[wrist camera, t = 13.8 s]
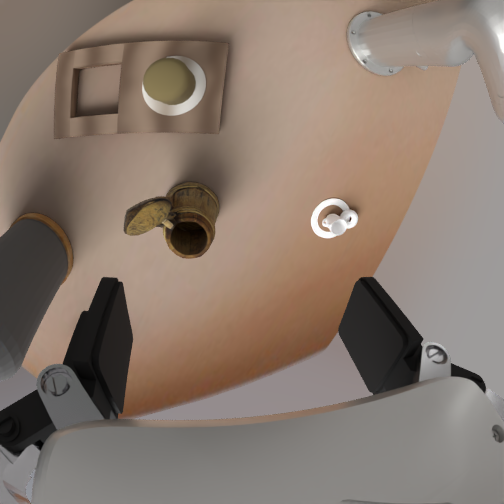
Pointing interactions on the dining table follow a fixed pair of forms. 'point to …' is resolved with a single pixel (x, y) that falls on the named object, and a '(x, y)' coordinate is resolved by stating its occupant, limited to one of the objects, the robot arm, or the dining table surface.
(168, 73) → the cork
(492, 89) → the robot arm
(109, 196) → the dining table surface
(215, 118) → the caddy board
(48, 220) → the decorative piece
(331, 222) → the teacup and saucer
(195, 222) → the wooden mug
